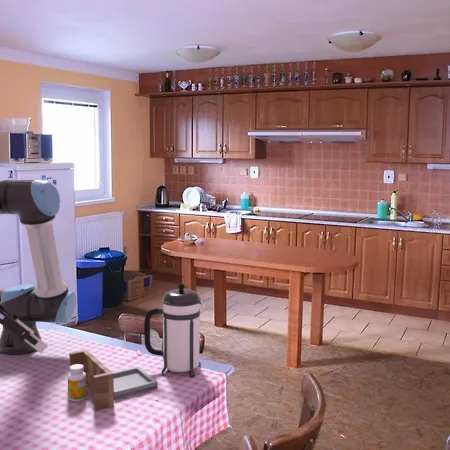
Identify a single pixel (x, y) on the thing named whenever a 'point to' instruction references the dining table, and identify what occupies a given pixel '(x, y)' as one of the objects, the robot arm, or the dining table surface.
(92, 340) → the dining table surface
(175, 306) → the coffee press
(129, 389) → the tray
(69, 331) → the dining table surface
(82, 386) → the supplement bottle
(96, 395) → the alcove
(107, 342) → the dining table surface
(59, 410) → the dining table surface
